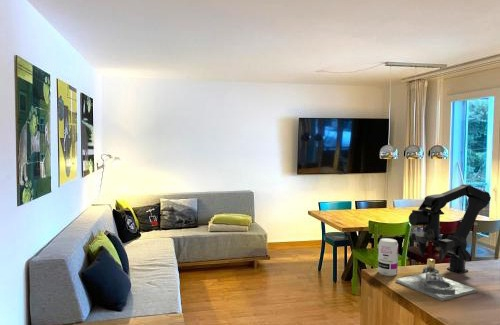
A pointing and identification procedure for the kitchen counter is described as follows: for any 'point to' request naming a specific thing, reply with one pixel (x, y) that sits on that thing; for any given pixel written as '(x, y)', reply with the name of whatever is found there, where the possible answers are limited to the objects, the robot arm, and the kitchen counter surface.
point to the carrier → (436, 286)
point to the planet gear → (430, 267)
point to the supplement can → (388, 257)
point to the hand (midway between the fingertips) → (431, 258)
